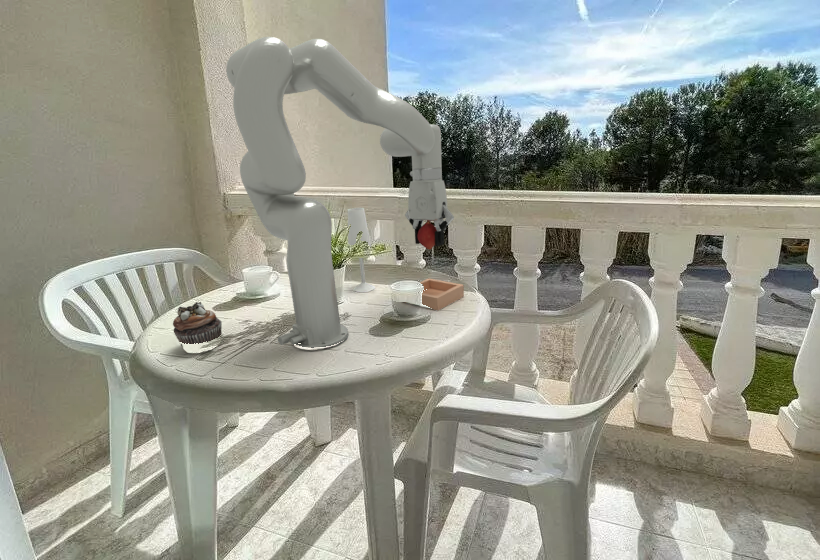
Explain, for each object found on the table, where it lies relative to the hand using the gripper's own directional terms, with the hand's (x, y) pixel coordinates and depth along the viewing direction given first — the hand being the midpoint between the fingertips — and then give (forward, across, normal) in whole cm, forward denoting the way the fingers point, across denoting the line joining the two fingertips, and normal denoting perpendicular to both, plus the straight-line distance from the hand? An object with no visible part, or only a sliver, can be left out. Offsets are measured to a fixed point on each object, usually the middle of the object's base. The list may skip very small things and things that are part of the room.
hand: (429, 243), depth 114 cm
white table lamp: (+15, -22, -5) cm, 27 cm away
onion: (+2, 0, 0) cm, 2 cm away
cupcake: (+16, -26, -52) cm, 61 cm away
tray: (+15, +2, -2) cm, 15 cm away
